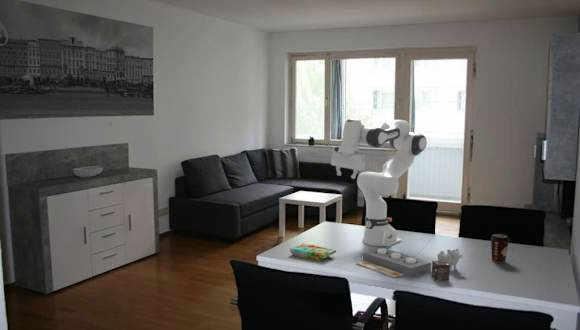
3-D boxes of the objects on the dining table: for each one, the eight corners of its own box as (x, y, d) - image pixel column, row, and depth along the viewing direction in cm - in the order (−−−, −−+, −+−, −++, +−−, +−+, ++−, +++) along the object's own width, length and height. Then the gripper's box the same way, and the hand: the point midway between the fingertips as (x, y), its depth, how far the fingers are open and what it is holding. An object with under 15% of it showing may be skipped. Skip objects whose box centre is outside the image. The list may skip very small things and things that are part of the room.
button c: (410, 263, 240) (410, 256, 239) (417, 265, 236) (417, 259, 236) (403, 264, 237) (404, 258, 237) (411, 267, 234) (411, 260, 233)
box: (431, 276, 229) (431, 260, 228) (444, 276, 230) (444, 260, 229) (436, 281, 223) (436, 264, 222) (449, 280, 224) (450, 264, 223)
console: (382, 255, 260) (382, 247, 260) (430, 270, 236) (431, 262, 236) (362, 260, 252) (362, 252, 251) (410, 276, 228) (411, 268, 228)
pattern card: (365, 261, 249) (365, 260, 249) (403, 275, 230) (404, 273, 230) (356, 264, 245) (356, 262, 245) (394, 278, 226) (395, 276, 226)
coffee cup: (507, 259, 255) (509, 234, 253) (508, 264, 247) (510, 238, 246) (488, 258, 258) (490, 232, 256) (489, 262, 250) (491, 236, 248)
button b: (395, 258, 247) (395, 252, 246) (402, 260, 243) (402, 254, 243) (389, 259, 244) (389, 253, 244) (396, 262, 241) (396, 256, 240)
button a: (381, 253, 254) (381, 247, 254) (388, 256, 250) (388, 250, 250) (375, 255, 251) (375, 249, 251) (381, 257, 248) (382, 251, 247)
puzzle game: (302, 242, 267) (336, 248, 256) (302, 250, 268) (336, 257, 257) (290, 247, 258) (324, 253, 246) (289, 256, 258) (324, 263, 247)
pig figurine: (456, 273, 233) (457, 251, 232) (435, 266, 244) (436, 244, 242) (464, 272, 236) (465, 249, 234) (443, 264, 246) (444, 243, 245)
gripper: (369, 153, 256) (365, 180, 257) (338, 148, 271) (335, 173, 272) (361, 152, 252) (357, 180, 253) (330, 147, 267) (327, 173, 268)
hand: (345, 176), depth 263 cm, fingers open, 8 cm apart
